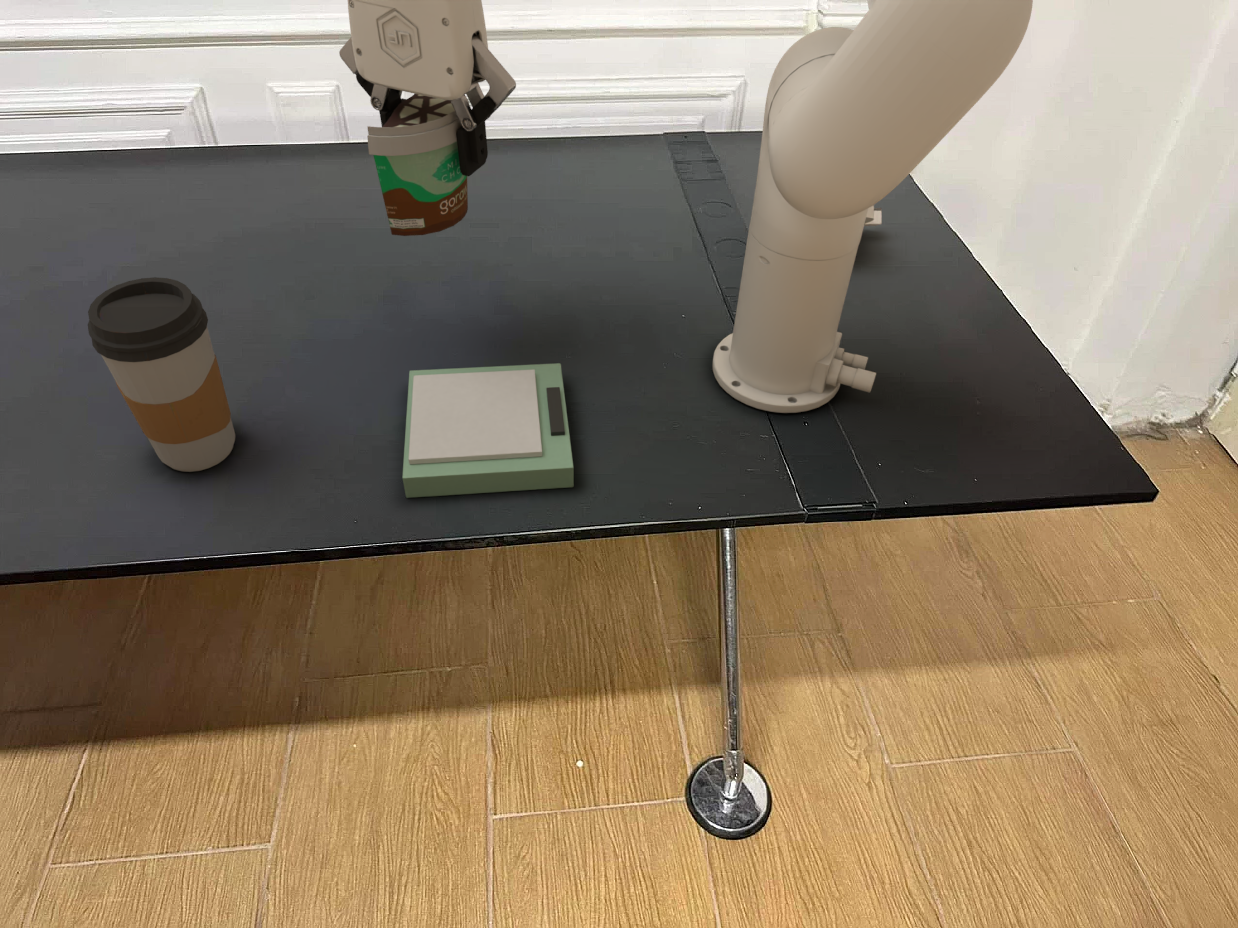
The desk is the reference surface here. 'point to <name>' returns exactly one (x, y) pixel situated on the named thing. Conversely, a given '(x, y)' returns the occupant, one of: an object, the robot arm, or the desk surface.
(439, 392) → the kitchen scale
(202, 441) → the coffee cup
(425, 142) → the food container
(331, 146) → the desk surface
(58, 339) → the desk surface
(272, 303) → the desk surface
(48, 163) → the desk surface
